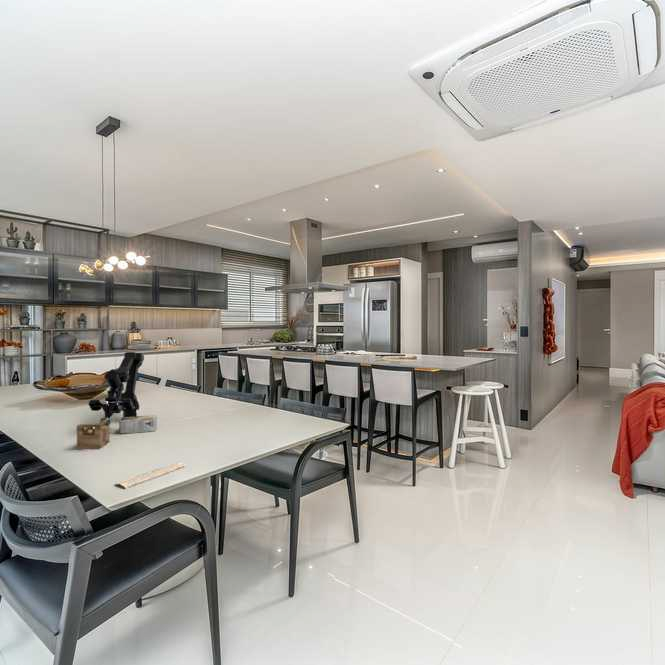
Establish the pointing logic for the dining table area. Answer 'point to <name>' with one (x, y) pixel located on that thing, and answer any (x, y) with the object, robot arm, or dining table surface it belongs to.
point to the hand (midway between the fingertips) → (106, 419)
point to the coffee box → (137, 424)
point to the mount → (92, 436)
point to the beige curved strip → (151, 475)
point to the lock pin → (104, 421)
